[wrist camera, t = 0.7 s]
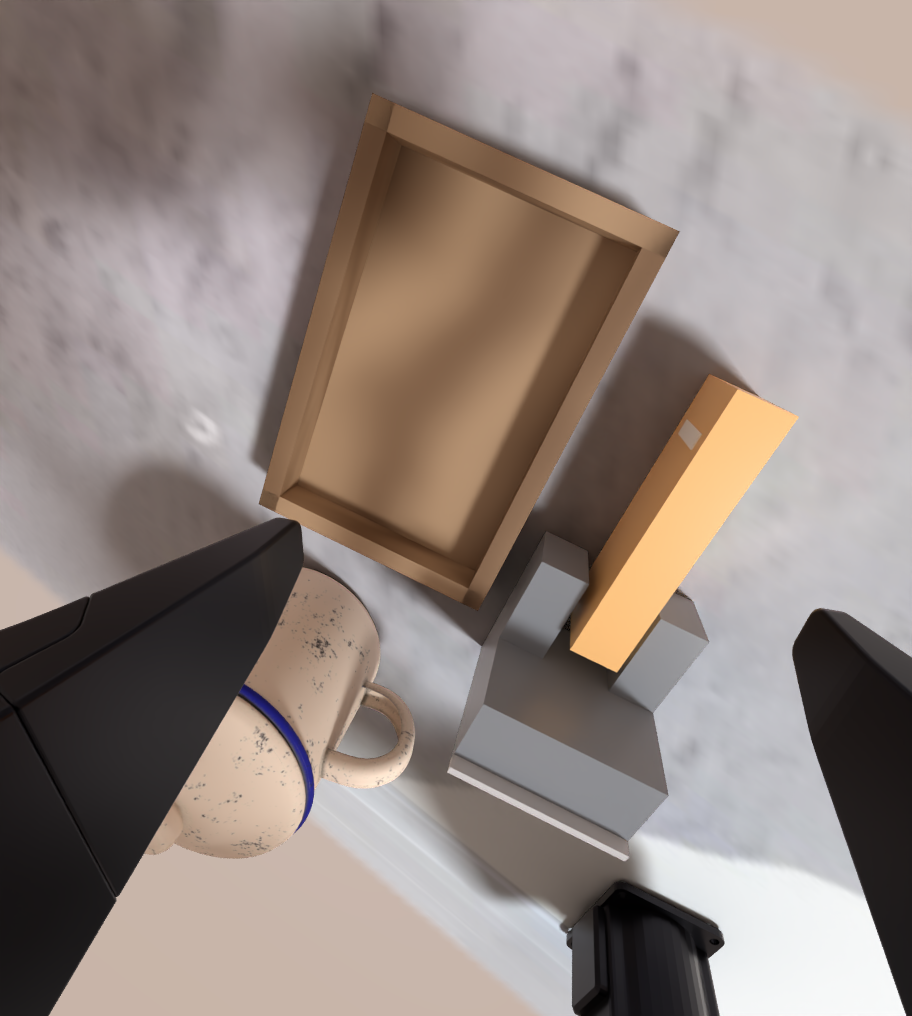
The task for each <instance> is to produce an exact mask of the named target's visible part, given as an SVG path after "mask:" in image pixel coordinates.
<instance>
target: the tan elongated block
mask: <svg viewBox="0 0 912 1016" xmlns="http://www.w3.org/2000/svg"><path fill="white" fill-rule="evenodd" d="M797 419H798V416H796V415H794V414H792V413H790V412H788V411H786V410H785V409H783V408H781V407H779V406H777V405H775V404H773V403H771V402H769V401H767V400H765V399H763V398H761V397H759V396H757V395H755V394H752V393H750V392H748V391H746V390H744V389H741V388H739V387H737V386H735V385H733V384H730V383H728V382H726V381H724V380H722V379H719V378H717V377H715V376H713V375H711V374H709V375H708V377H707V379H706V380H705V382H704V384H703V385H702V387H701V389H700V390H699V392H698V393H697V395H696V397H695V398H694V400H693V402H692V403H691V405H690V407H689V408H688V410H687V411H686V413H685V415H684V416H683V418H682V420H681V421H680V423H679V424H678V426H677V428H676V429H675V431H674V433H673V434H672V436H671V438H670V439H669V441H668V442H667V444H666V446H665V447H664V449H663V451H662V452H661V454H660V456H659V457H658V459H657V460H656V462H655V464H654V465H653V467H652V469H651V470H650V472H649V474H648V475H647V477H646V478H645V480H644V482H643V483H642V485H641V487H640V488H639V490H638V492H637V493H636V495H635V496H634V498H633V500H632V501H631V503H630V505H629V506H628V508H627V509H626V511H625V513H624V514H623V516H622V518H621V519H620V521H619V523H618V524H617V526H616V527H615V529H614V531H613V532H612V534H611V536H610V537H609V539H608V541H607V542H606V544H605V545H604V547H603V549H602V550H601V552H600V554H599V555H598V557H597V559H596V560H595V562H594V563H593V565H592V567H591V568H590V570H589V586H588V587H587V589H586V591H585V592H584V594H583V595H582V597H581V598H580V600H579V602H578V603H577V605H576V606H575V608H574V610H573V611H572V613H571V626H570V650H571V651H573V652H575V653H577V654H579V655H581V656H584V657H586V658H588V659H590V660H592V661H594V662H596V663H598V664H600V665H602V666H604V667H606V668H608V669H610V670H612V671H615V672H618V671H619V669H620V668H621V666H622V665H623V663H624V662H625V661H626V659H627V658H628V656H629V655H630V654H631V652H632V651H633V649H634V648H635V647H636V645H637V644H638V642H639V641H640V640H641V638H642V637H643V635H644V634H645V633H646V631H647V630H648V628H649V627H650V626H651V624H652V623H653V621H654V620H655V618H656V617H657V616H658V614H659V613H660V611H661V610H662V609H663V607H664V606H665V604H666V603H667V602H668V600H669V599H670V597H671V596H672V595H673V593H674V592H675V590H676V589H677V588H678V586H679V585H680V583H681V582H682V581H683V579H684V578H685V576H686V575H687V573H688V572H689V571H690V569H691V568H692V566H693V565H694V564H695V562H696V561H697V559H698V558H699V557H700V555H701V554H702V552H703V551H704V550H705V548H706V547H707V545H708V544H709V543H710V541H711V540H712V538H713V537H714V536H715V534H716V533H717V531H718V530H719V528H720V527H721V526H722V524H723V523H724V521H725V520H726V519H727V517H728V516H729V514H730V513H731V512H732V510H733V509H734V507H735V506H736V505H737V503H738V502H739V500H740V499H741V498H742V496H743V495H744V493H745V492H746V491H747V489H748V488H749V486H750V485H751V483H752V482H753V481H754V479H755V478H756V476H757V475H758V474H759V472H760V471H761V469H762V468H763V467H764V465H765V464H766V462H767V461H768V460H769V458H770V457H771V455H772V454H773V453H774V451H775V450H776V448H777V447H778V446H779V444H780V443H781V441H782V440H783V438H784V437H785V436H786V434H787V433H788V431H789V430H790V429H791V427H792V426H793V424H794V423H795V422H796V420H797Z"/></svg>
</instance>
